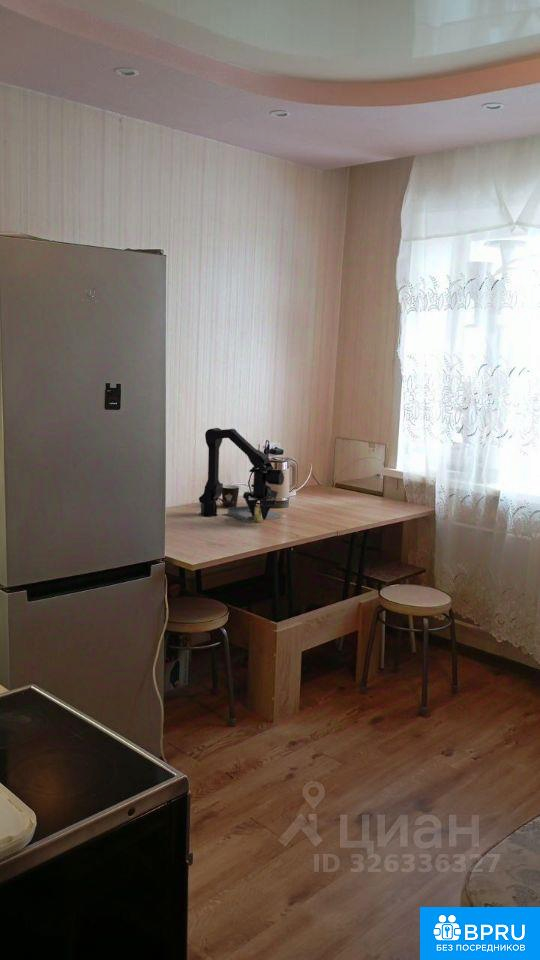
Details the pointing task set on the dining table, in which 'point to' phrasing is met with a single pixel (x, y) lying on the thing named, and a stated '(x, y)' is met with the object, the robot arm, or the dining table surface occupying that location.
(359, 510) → the dining table surface
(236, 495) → the coffee mug
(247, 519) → the jig
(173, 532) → the dining table surface
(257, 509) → the gold rounded cylinder
